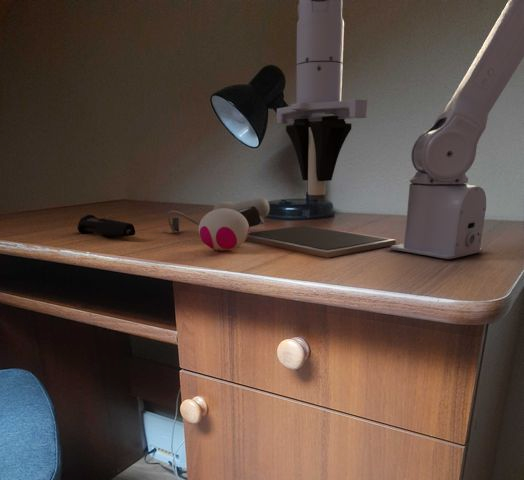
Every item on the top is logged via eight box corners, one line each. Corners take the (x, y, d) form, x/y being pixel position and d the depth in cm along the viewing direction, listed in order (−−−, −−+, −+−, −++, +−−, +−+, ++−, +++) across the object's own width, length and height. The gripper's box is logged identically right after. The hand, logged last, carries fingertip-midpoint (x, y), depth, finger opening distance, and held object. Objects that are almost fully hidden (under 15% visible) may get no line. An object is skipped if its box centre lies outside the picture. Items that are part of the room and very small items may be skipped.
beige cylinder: (328, 198, 67) (331, 126, 64) (316, 200, 66) (317, 126, 63) (316, 197, 69) (318, 127, 66) (304, 199, 68) (305, 127, 64)
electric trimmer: (121, 244, 78) (118, 223, 77) (76, 233, 88) (73, 214, 87) (141, 241, 80) (140, 221, 79) (95, 230, 90) (93, 212, 89)
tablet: (395, 245, 73) (396, 238, 72) (327, 258, 65) (327, 251, 64) (304, 230, 87) (304, 224, 87) (239, 239, 79) (239, 233, 79)
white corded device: (161, 255, 83) (262, 234, 77) (148, 218, 80) (251, 193, 75) (186, 237, 93) (276, 217, 87) (175, 203, 90) (267, 180, 85)
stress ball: (197, 272, 72) (178, 239, 67) (218, 234, 76) (201, 199, 71) (243, 275, 69) (227, 240, 64) (262, 235, 73) (248, 198, 68)
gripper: (258, 70, 65) (260, 179, 70) (339, 53, 54) (335, 184, 59) (298, 74, 69) (297, 177, 74) (381, 59, 58) (373, 180, 63)
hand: (316, 180), depth 67 cm, fingers closed on beige cylinder, 2 cm apart
